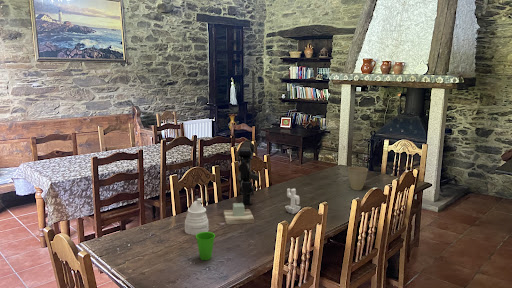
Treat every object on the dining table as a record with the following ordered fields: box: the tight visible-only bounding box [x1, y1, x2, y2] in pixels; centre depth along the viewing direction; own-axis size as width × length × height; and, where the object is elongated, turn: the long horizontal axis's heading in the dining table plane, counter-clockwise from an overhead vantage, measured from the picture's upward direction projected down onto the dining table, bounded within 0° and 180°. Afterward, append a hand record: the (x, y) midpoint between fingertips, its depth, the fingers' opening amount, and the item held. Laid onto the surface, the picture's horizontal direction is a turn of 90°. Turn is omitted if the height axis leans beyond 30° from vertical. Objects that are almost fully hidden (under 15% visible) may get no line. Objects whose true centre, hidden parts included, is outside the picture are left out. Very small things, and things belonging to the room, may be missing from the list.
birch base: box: [223, 208, 255, 225], centre depth 230 cm, size 16×16×2 cm
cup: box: [195, 231, 216, 261], centre depth 180 cm, size 9×9×11 cm
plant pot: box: [347, 166, 369, 191], centre depth 293 cm, size 15×15×16 cm
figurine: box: [284, 188, 302, 215], centre depth 241 cm, size 7×9×15 cm
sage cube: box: [232, 202, 245, 217], centre depth 230 cm, size 6×6×6 cm
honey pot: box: [184, 198, 209, 236], centre depth 211 cm, size 13×13×18 cm
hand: (244, 193), depth 239 cm, fingers open, 9 cm apart
